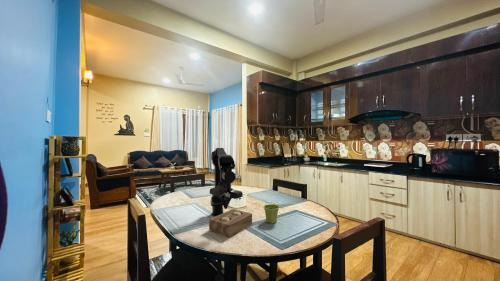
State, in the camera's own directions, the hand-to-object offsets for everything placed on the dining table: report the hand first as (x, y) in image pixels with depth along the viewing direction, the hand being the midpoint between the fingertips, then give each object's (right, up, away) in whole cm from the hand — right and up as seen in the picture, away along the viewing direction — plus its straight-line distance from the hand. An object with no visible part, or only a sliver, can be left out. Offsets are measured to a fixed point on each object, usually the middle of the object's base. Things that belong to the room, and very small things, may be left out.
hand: (225, 208), depth 108 cm
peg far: (+6, -11, +8) cm, 15 cm away
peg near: (0, -11, 0) cm, 11 cm away
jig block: (+3, -12, +4) cm, 13 cm away
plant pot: (+26, -12, +13) cm, 31 cm away
